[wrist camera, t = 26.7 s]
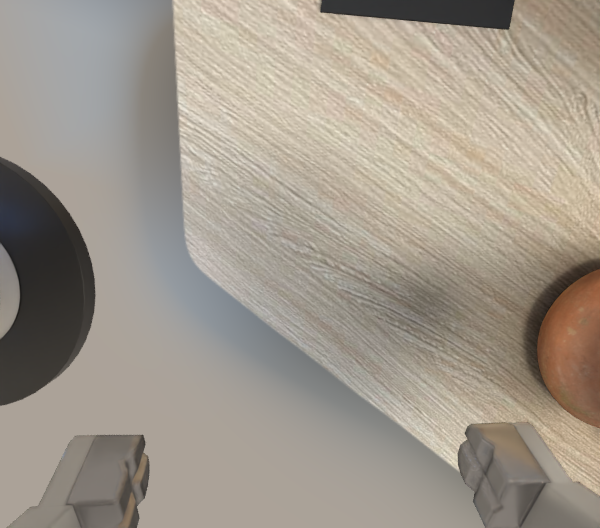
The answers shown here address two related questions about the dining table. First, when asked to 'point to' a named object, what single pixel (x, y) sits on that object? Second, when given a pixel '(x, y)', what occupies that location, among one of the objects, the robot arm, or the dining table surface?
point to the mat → (429, 11)
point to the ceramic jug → (573, 349)
